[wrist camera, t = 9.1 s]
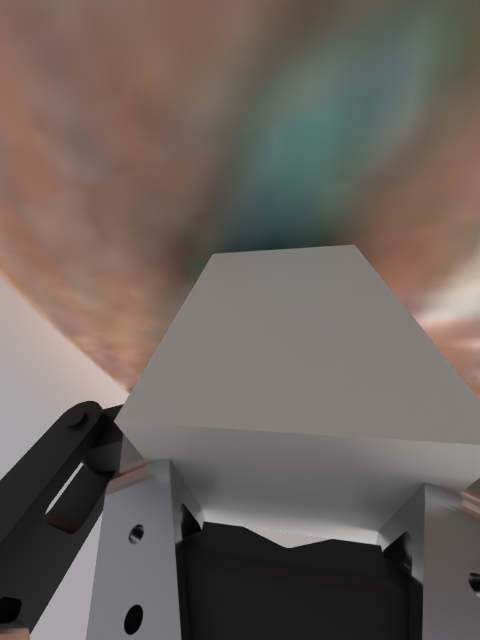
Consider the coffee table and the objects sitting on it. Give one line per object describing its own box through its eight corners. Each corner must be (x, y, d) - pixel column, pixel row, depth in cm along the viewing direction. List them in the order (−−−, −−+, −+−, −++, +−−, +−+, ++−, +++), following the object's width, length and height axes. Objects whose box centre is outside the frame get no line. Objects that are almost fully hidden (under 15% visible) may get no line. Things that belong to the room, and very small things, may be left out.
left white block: (212, 253, 10) (113, 421, 4) (354, 244, 9) (518, 448, 3) (230, 350, 14) (193, 519, 8) (335, 350, 13) (392, 546, 7)
